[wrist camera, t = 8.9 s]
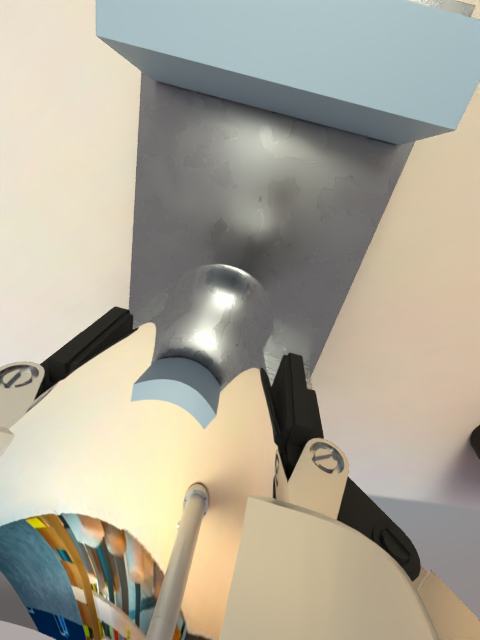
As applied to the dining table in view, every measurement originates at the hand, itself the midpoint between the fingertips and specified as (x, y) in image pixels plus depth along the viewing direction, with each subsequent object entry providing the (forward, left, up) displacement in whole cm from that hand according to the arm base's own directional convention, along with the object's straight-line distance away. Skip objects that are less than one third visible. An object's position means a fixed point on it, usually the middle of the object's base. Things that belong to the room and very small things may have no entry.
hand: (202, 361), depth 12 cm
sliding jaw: (-12, 0, -10) cm, 16 cm away
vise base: (-4, 0, -12) cm, 12 cm away
